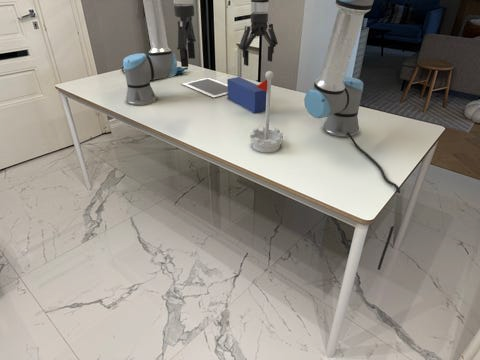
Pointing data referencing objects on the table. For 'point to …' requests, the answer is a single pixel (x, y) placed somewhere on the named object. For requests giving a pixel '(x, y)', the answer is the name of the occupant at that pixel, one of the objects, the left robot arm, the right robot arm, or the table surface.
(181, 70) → the submachine gun
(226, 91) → the tablet
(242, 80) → the box
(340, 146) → the table surface
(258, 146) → the flag stand
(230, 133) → the table surface
